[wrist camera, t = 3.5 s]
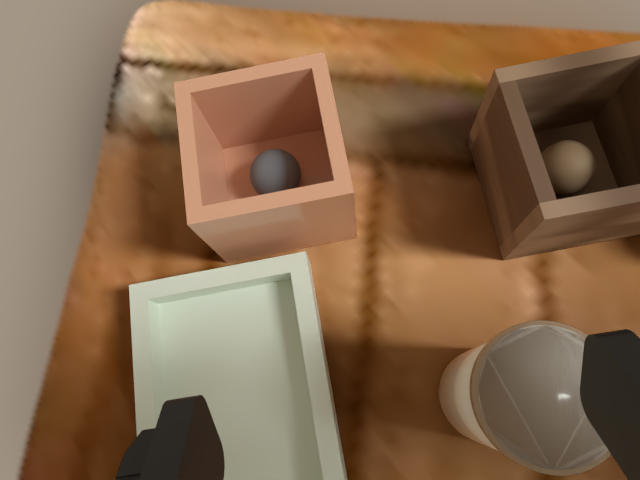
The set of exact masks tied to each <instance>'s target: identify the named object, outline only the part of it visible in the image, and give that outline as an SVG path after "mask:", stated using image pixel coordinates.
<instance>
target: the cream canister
mask: <svg viewBox="0 0 640 480" xmlns="http://www.w3.org/2000/svg"><path fill="white" fill-rule="evenodd" d="M587 336H588V335H587V334H585V333H583V332H582V331H580V330H578V329H576V328H574V327H571V326H569V325H566V324H562V323H558V322H553V321H529V322H525V323H521V324H517V325H515V326H513V327H510V328H508V329H506V330H504V331H502V332H500V333H499V334H497V335H496V336H494V337H493V338H492V339H491V340H490V341H489V342H487V343H484V344H482V345H480V346H478V347H475V348H473V349H471V350H469V351H466V352H464V353H462V354H460V355H458V356H457V357H455V358H454V359H453V360H452V361H451V362H450V363H449V364H448V365H447V367H446V368H445V370H444V372H443V374H442V376H441V379H440V384H439V400H440V404H441V408H442V410H443V413H444V415H445V417H446V418H447V420H448V421H449V423H450V424H451V425H452V426H453V427H454V428H455V429H456V430H457V431H458V432H459V433H461V434H462V435H464V436H465V437H467V438H469V439H471V440H474V441H476V442H478V443H481V444H483V445H486V446H488V447H490V448H493V449H495V450H498V451H500V452H501V453H502V454H503V455H505V456H506V457H507V458H509V459H511V460H512V461H514V462H516V463H518V464H520V465H522V466H524V467H526V468H529V469H531V470H534V471H537V472H540V473H543V474H549V475H560V476H565V475H574V474H578V473H582V472H585V471H588V470H590V469H593V468H594V467H596V466H598V465H599V464H601V463H602V462H604V461H605V460H606V459H607V458H608V457H609V456H610V455H611V453H610V452H609V450H608V449H607V447H606V446H605V444H604V443H603V441H602V440H601V438H600V437H599V435H598V434H597V432H596V431H595V429H594V428H593V426H592V425H591V423H590V422H589V420H588V418H587V416H586V414H585V412H584V409H583V406H582V403H581V398H580V381H581V371H582V361H583V351H584V342H585V339H586V337H587Z"/></svg>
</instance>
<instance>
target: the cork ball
mask: <svg viewBox="0 0 640 480" xmlns="http://www.w3.org/2000/svg"><path fill="white" fill-rule="evenodd" d="M541 155H542V158H543V161H544V164H545V167H546V170H547V172H548V175H549V178H550V181H551V184H552V187H553V190H554V193H555V194H559V195H569V194H574V193H577V192H579V191H581V190H583V189H584V188H585V187H587V186H588V185H589V183H590V182H591V181H592V179H593V177H594V175H595V172H596V160H595V157H594V155H593V153H592V151H591V150H590V149H589V148H588V147H587V146H585V145H584V144H582V143H580V142H577V141H572V140H565V141H559V142H556V143H554V144H552V145H550V146H549V147H547V148H546V149H545V150H544V151H543V152H542V153H541Z"/></svg>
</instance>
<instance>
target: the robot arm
mask: <svg viewBox="0 0 640 480" xmlns="http://www.w3.org/2000/svg"><path fill="white" fill-rule="evenodd" d="M580 398H581V403H582V406H583V409H584V412H585V414H586V416H587V418H588V420H589V422H590V423H591V425H592V426H593V428H594V429H595V431H596V432H597V434H598V435H599V437H600V438H601V440H602V441H603V443H604V444H605V446H606V447H607V449H608V450H609V452H610V453H611V455H612V456H613V458H614V459H615V461H616V462H617V464H618V465H619V466H620V468H621V469H622V471H623V472H624V474H625V475H626V477H627V478H628V480H640V338H639V337H638V336H637V335H636V334H634V333H633V332H632V331H630V330H627V329H624V330H618V331H612V332H605V333H599V334H593V335H588V336H587V337H586V339H585V342H584V351H583V361H582V371H581V381H580ZM224 469H225V463H224V452H223V447H222V443H221V440H220V437H219V435H218V432H217V429H216V427H215V424H214V421H213V418H212V416H211V413H210V410H209V408H208V405H207V402H206V400H205V398H204V397H203V396H202V395H197V396H190V397H184V398H178V399H171V400H167V401H165V402H164V404H163V406H162V409H161V412H160V415H159V418H158V421H157V424H156V428H152V429H146V430H142V431H141V432H140V434H139V435H138V436H137V438H136V439H135V440H134V441H133V443H132V444H131V445H130V447H129V448H128V449H127V450H126V452H125V453H124V456H123V459H122V462H121V464H120V467H119V470H118V472H117V475H116V480H223V479H224Z"/></svg>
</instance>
